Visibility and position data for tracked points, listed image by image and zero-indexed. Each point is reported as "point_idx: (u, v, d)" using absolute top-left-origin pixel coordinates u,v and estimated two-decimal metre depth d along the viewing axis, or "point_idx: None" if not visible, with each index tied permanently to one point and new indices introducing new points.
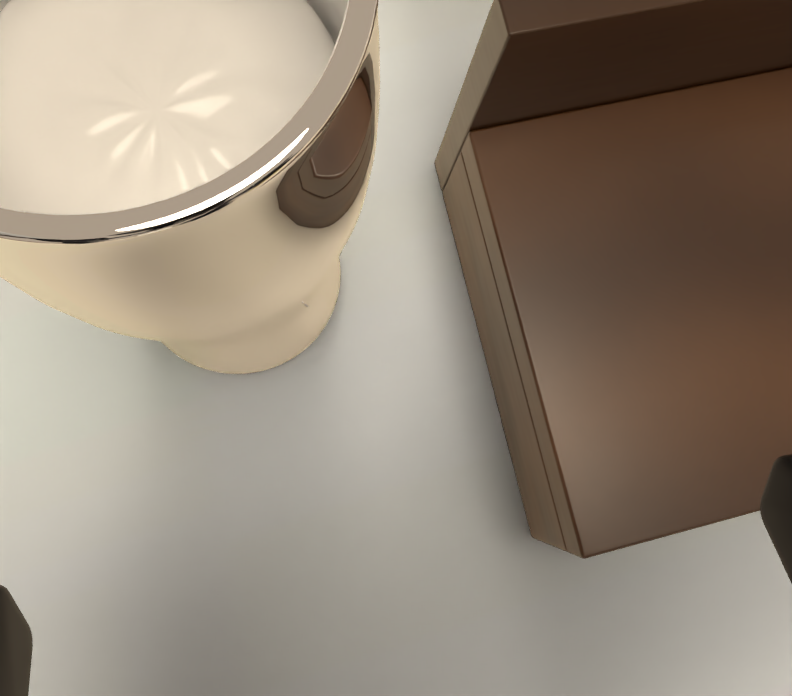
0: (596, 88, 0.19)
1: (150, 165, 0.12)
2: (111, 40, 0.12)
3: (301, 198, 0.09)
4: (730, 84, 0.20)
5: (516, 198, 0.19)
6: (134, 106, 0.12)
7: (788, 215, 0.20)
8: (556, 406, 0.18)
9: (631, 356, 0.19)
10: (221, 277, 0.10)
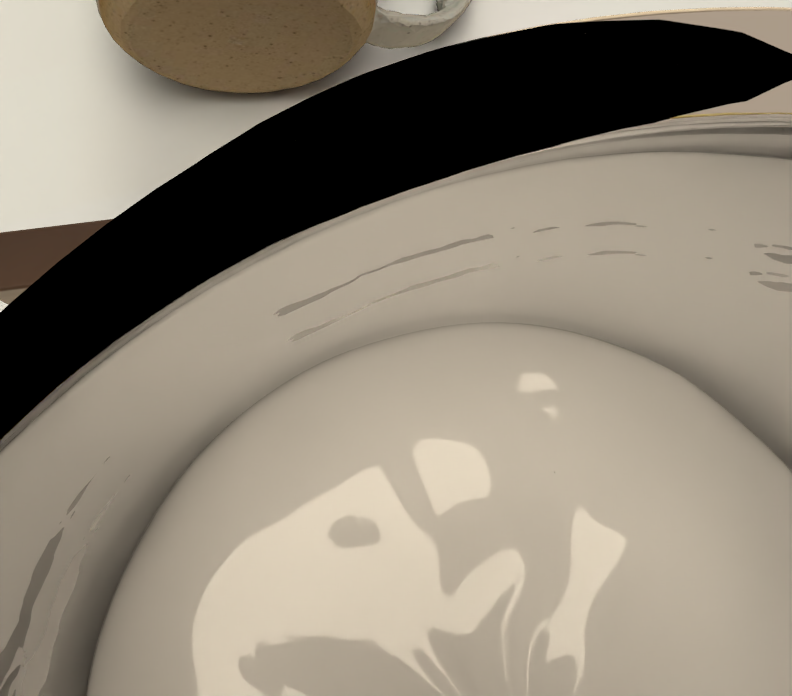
0: None
1: None
2: (420, 587, 0.06)
3: None
4: None
5: None
6: None
7: None
8: None
9: None
10: None
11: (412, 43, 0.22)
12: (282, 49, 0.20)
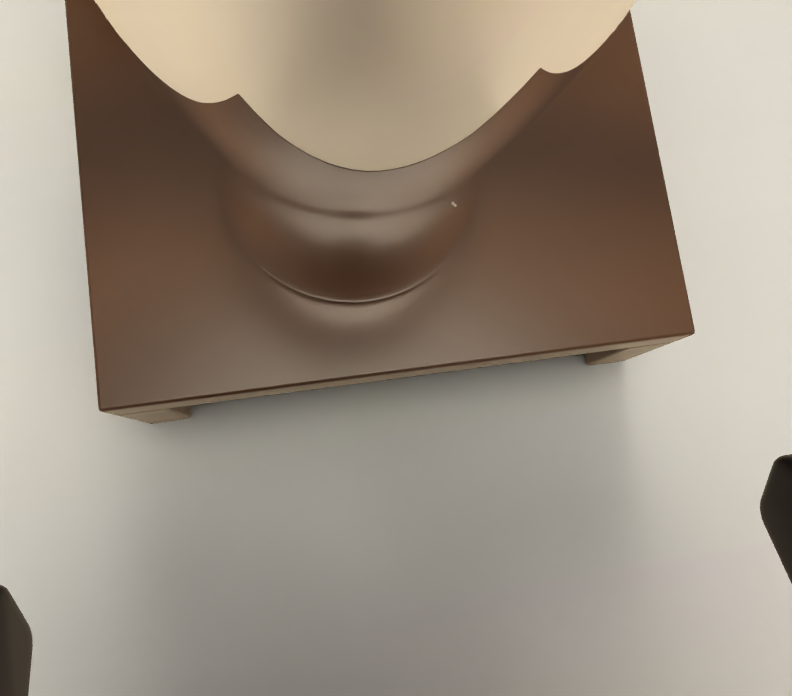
0: None
1: None
2: None
3: None
4: None
5: (99, 36, 0.18)
6: None
7: None
8: (100, 250, 0.17)
9: (194, 209, 0.18)
10: None
11: None
12: None
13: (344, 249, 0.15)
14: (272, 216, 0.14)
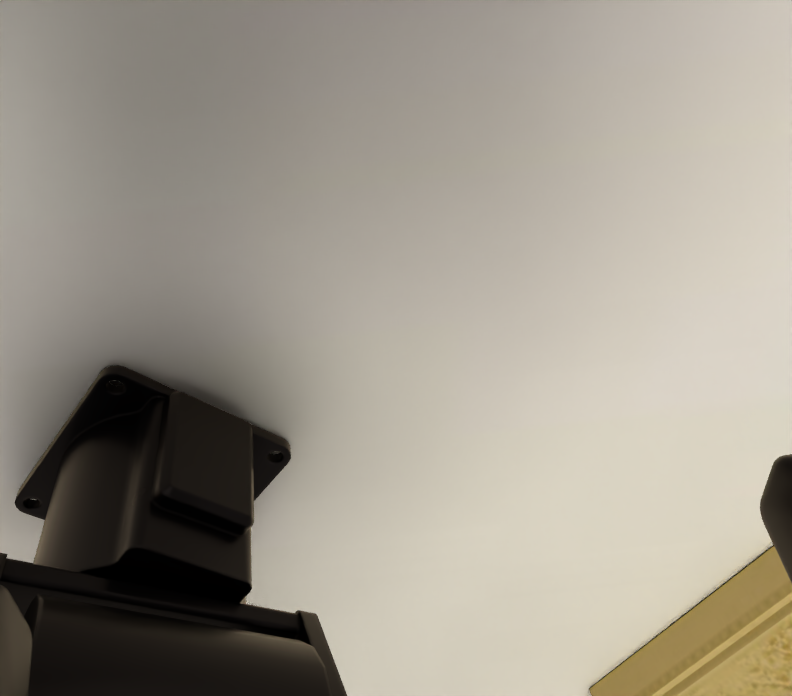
0: None
1: None
2: None
3: None
4: None
5: None
6: None
7: None
8: None
9: None
10: None
11: None
12: None
13: None
14: None
